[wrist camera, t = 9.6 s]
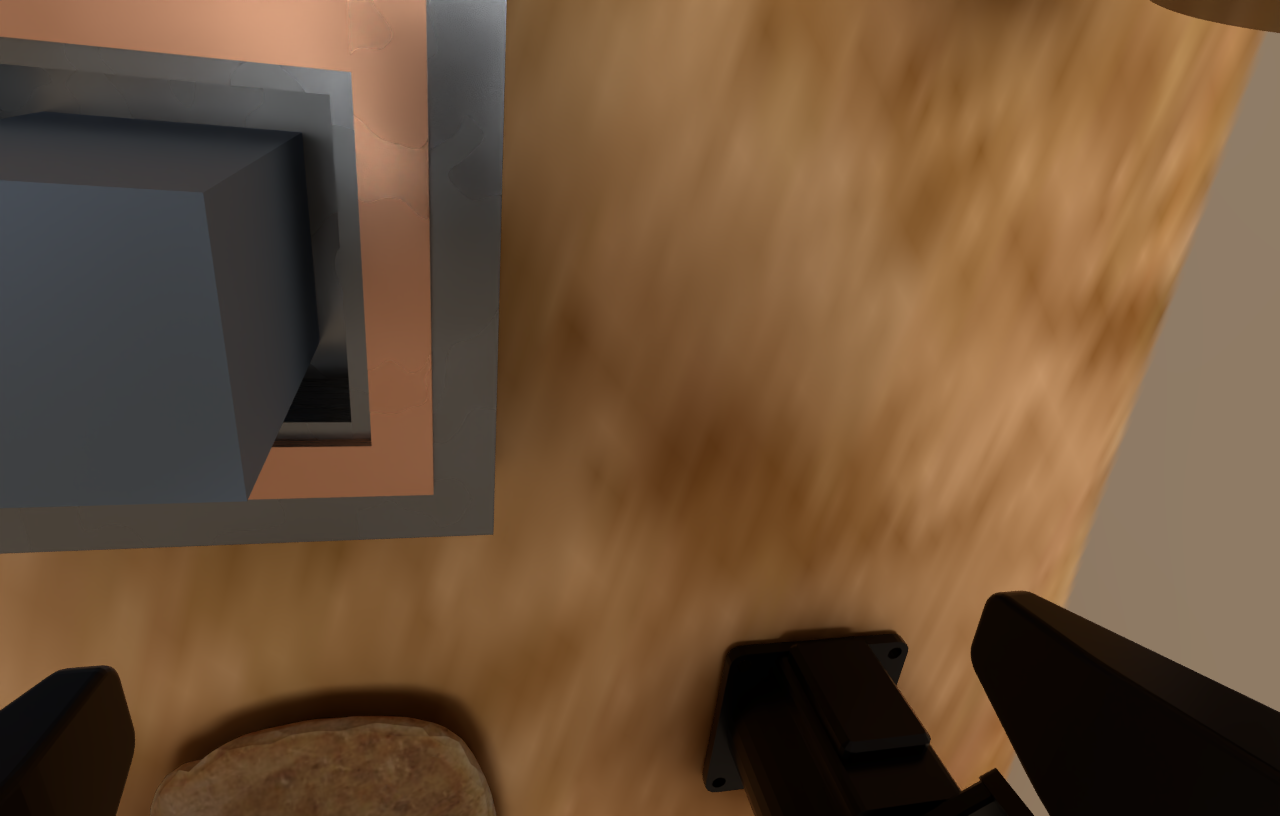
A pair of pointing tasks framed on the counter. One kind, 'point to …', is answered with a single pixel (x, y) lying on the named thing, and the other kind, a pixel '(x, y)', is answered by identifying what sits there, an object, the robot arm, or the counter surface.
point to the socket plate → (321, 243)
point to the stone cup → (332, 773)
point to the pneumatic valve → (1230, 12)
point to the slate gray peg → (148, 307)
